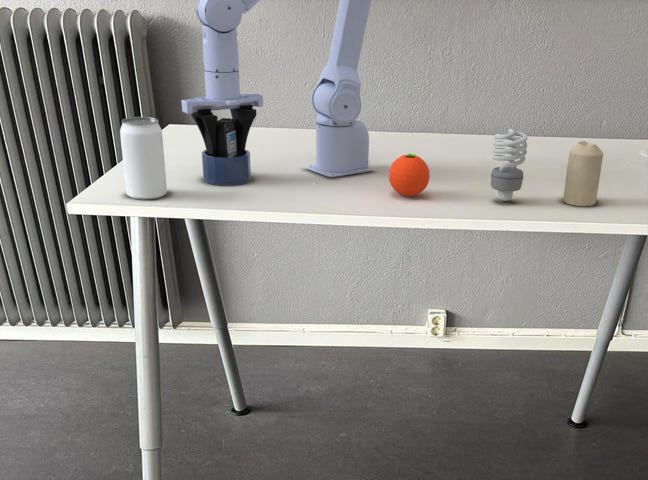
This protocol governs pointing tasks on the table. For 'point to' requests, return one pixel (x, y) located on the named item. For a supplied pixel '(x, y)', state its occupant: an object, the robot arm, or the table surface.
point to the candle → (583, 174)
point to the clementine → (409, 175)
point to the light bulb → (508, 164)
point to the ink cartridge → (226, 138)
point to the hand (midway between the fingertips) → (226, 152)
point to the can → (143, 158)
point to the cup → (226, 169)
